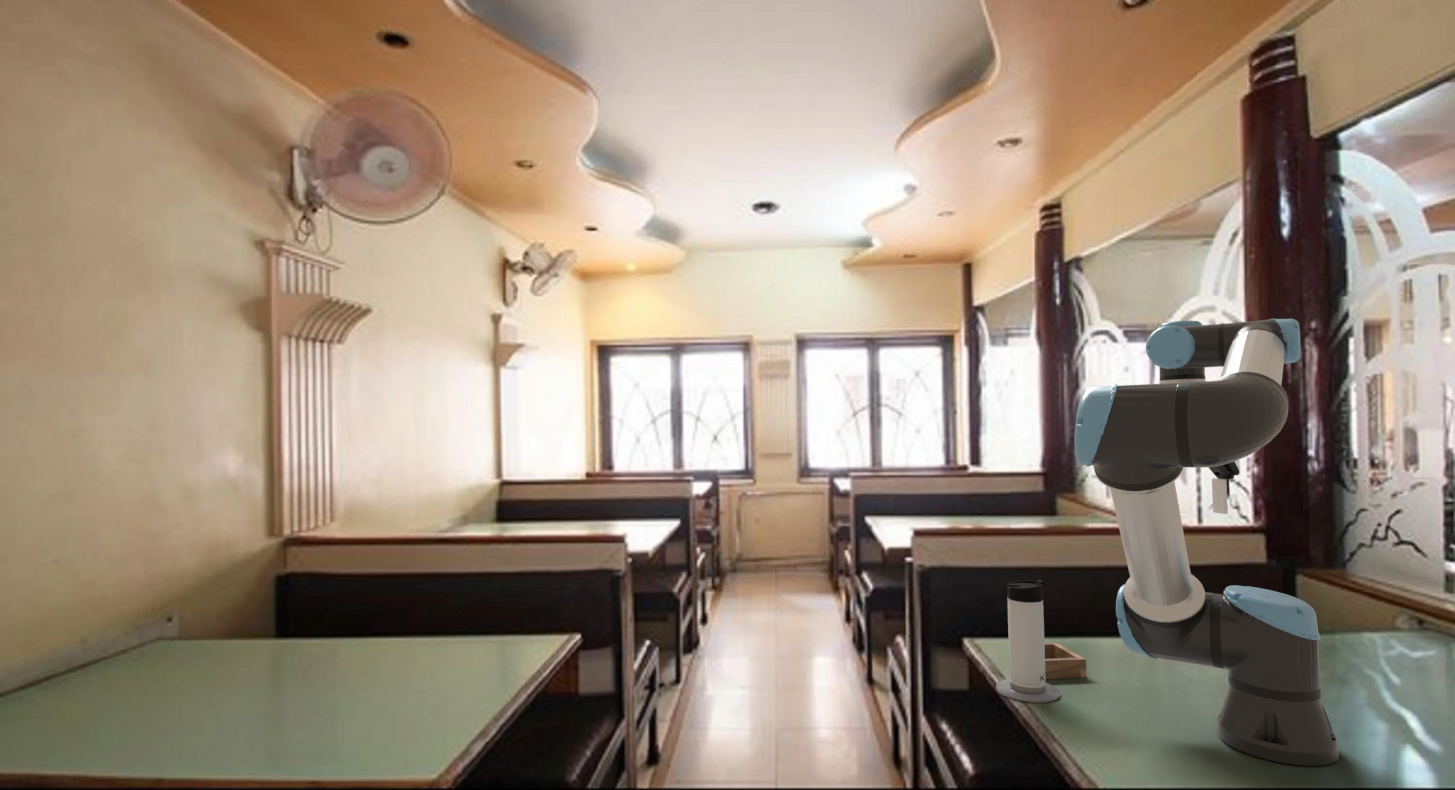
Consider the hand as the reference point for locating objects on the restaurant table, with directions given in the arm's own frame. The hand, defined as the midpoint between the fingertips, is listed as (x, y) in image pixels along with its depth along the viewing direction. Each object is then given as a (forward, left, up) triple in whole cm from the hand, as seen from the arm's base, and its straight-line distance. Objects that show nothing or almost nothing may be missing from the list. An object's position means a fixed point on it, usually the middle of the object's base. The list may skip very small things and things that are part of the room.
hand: (1187, 514), depth 140 cm
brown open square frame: (+14, +22, -33) cm, 41 cm away
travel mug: (+2, +31, -32) cm, 45 cm away
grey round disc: (+2, +32, -33) cm, 45 cm away
